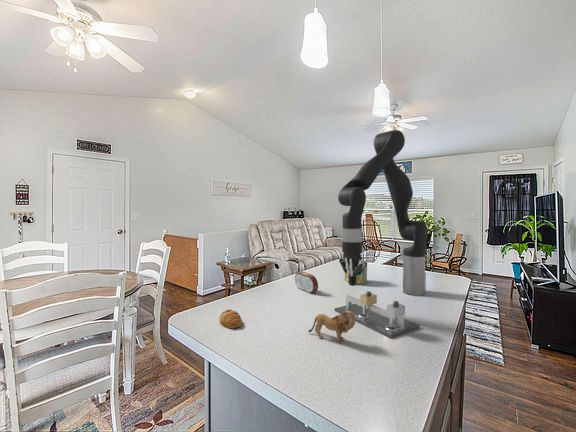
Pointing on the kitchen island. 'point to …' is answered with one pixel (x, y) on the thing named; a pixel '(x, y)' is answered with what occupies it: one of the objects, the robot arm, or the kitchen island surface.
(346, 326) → the lion figurine
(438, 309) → the kitchen island surface
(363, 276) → the chalk box
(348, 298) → the divider frame
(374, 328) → the bolt plate
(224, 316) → the pastry
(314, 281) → the tin
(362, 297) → the block
